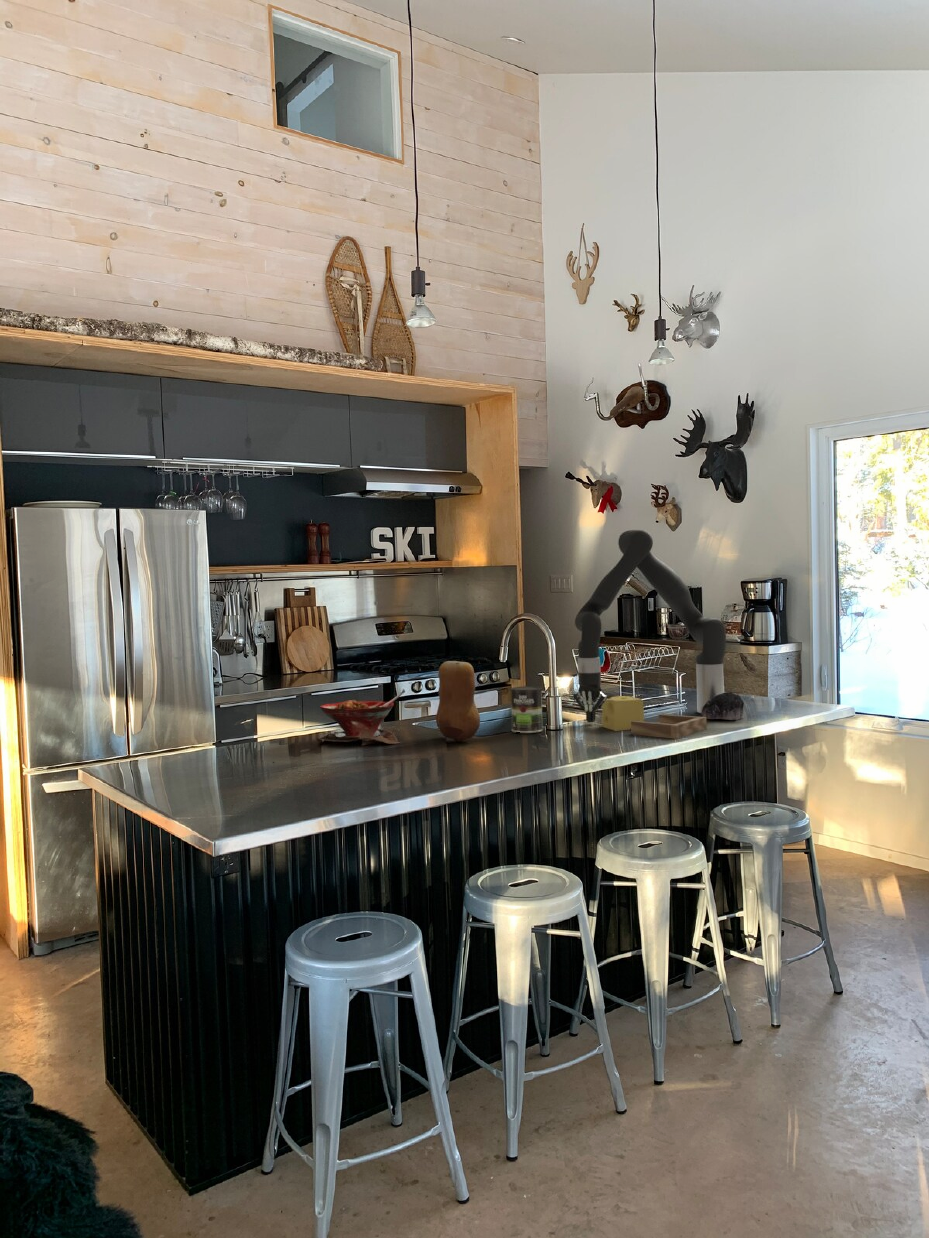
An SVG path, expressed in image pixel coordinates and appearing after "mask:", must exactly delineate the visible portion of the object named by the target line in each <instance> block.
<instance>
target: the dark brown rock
mask: <svg viewBox="0 0 929 1238" xmlns="http://www.w3.org/2000/svg"><path fill="white" fill-rule="evenodd" d="M744 707H745V703H744V700H743V698H742V697H741V695H740V694H738V693H735V692H733V691H726V692H724V693H722V694H719V695H716V696H715V697H714V698H711V699H710V700H709V701H708V702H706V704H705V705H704V706H703V708H702V713H701V717H706V720H708V719H709V720H729V721H735V720H736V721H737V720H740V719H742V718H743V715H744V710H745V709H744Z"/></svg>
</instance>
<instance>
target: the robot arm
mask: <svg viewBox="0 0 929 1238" xmlns="http://www.w3.org/2000/svg"><path fill="white" fill-rule="evenodd" d="M617 541H618V542H617V543H618V548H619V550H620V552H621V553H622V556H621V558H620V559H619V560H618V562H617V563H616V565H614V567H613V568H612V569H610V571H608V573H606V575H605V576H604V577H603V578H602V580H600V582H599V583H598V585H597V586H596V588H595V590H594V591H593V593H592V595H591V596H590V598H589V600H587V601H586V602H585V604H584V605H583V606H582V607H581V608H580V610H579V611H578V612H577V614H576V616H575V619H574V626H575V627H576V629H577V630H578V631H580V632H581V637H580V638H581V640H580V641H579V642H578V644H577V645H578V647H577V648H578V649H577V653H578V657H577V658H578V660H577V675H578V676H577V677H578V678H577V679H578V685H579V687H578V691H577V692H576V693H573V694H572V697H573V698H574V700H575V702H576V703H577V705H578V706H579V707H580V709H581V710H584V711H585V717H586V721H587V723H595V721H596V711H598V710H601V709H602V704H604V702H605V700H606V699H609V698H608V695H607V694H604V693H603V692H602V688H601V684H602V678H601V677H602V675H601V674H602V672H601V659H600V640H601V634H602V620H601V615H602V614H603V612H605V611H608V609H610V607H611V606H612V604H613V602H614V600H616V598H617V595H618V594H619V592H620V590H621V589H622V587H623V586H624V585H625V583H626V582H627V580H628V579H629V578H630V576H631V575H632V574H633V572H634V571H636V569H638V570H639V571H640V572H641V573H642V575H643V576H644V577H645V579H646V580H647V581H648V583H649V584H650V585H651V587H653V588H654V590H655V592H657V593H658V595H659V596H660V597H661V599H662V600H663V601H664V602H665V603H666V604H667V605H668V607H669V608H670V610H672V612H674V613H675V615H676V616H677V617H678V618H679V619H680V621H681V623H682V624H683V625H684V627H685V628H686V629H687V631H688V633H689V634H690V637H692V638H693V640H694V641H696V642H697V643H699V644H701V645H702V651H701V652H700V653H699V654H697V655H696V657H695V668H696V670H695V671H696V709H697V713H699V714H702V708H703V706H704V705H705V704H706V702H708V701H709V700H710V699H711V698H714V697H715V696H716V695H719V694H722V693H725V684H724V683H725V682H724V680H725V679H724V676H725V675H724V658H725V656H726V652H727V651H726V648H727V647H726V646H727V645H726V643H727V641H726V640H727V632H726V626H725V624H724V622H723V621H722V620H721V619H719V618H715V617H706V616H705V615H703V614H702V612H700V610H699V609H698V608H697V607H696V606H695V604H694V602H693V599H692V595H691V592H690V590H689V587H688V585H687V584H686V583H685V581H684V580H683V579H682V578H681V576H679V574H678V573H677V572H676V571H675V570H673V568H671V567H670V566H668V564H666V563H664V562H663V561H662V560H660V559H658V558H657V557H656V556H655V555H654V554H653V552H652V548H653V546H654V545H653V544H654V541H653V537H652V535H651V534H650V533H649V532H648V531H646V530H643V529H629V530H626V531H623V532H622V533H621V534H620V535H619V538H618V540H617Z"/></svg>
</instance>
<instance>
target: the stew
mask: <svg viewBox="0 0 929 1238" xmlns="http://www.w3.org/2000/svg"><path fill="white" fill-rule="evenodd" d="M404 693H406V691H405V688H403V689H402V691H400V692H399V693H398V694H397V695H396V696H395V697H393V699H391V700H389V701H379V700H378V701H377V700H376V701H375V700H373V701H372V700H371V701H360V700H359V701H358V700H356V699H351V700H350V699H348V700H346V701H342V702H341V701H340V702H336V703H325V704H322V705H320V706H319V708H320V710H321V711H322V712H323V713H324V714H325V715H326V716H327V717H329V718H330V719H332V720H333V721H335V722H336V724H338V725H339V727H340V728H341V731H333V730H332V731H330V730H328V731H327V734H326V735H324V736H323V737H318V738H316V740H317V743H316V745H317V747H319V746H320V745H321V744H323V743H325V742H333V743H337V742H338V743H339V742H345V743H346V742H356V741H359V740H361V746H367V745H373V744H377V743H378V744H379V743H386V744H389V745H390V744H401V743H402V741H398V738H397V737H396V733H394V732H392V731H391V730H387V729H380V728H379V727H380V725H381V724H382V722H384V721H383V720H384V719H385V718H387V716H388V715H389V713H390V711H391V710H392V709H393V707H394V705H395V701H396V700H397V699H399V698H400V697H401V696H402V695H403V694H404ZM377 731H378V733H379V734H378V735H376V736H374V735H375V734H376V732H377ZM329 732H331V733H329ZM385 732H386V733H385ZM382 733H385V734H384V735H382V736H381V734H382ZM339 734H344V735H343V736H337V735H339Z"/></svg>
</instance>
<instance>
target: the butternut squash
mask: <svg viewBox="0 0 929 1238" xmlns="http://www.w3.org/2000/svg"><path fill="white" fill-rule="evenodd" d="M437 675H438V680H439V682H438V684H439V686H438V691H437V693H438V697H439V700H438V701H439V704H438V706H437V707H438V708H437V711H436V716H435V723H436V726H437V728H438V729H439V732H440V734H442V736H444V737H445V738H447V739H452V740H454V741H455V740H456V742H465V741H466V740H468V739H471V738H473V737H474V736H475V735H476V734H477V731H478V730H479V729H480V725H481V724H480V723H481V717H480V713H479V710H478V708H477V706H476V703H475V691H476V679H475V671H474V667H473V666H472V664H471V663H470V662H466V661H457V660H452V661H451V660H447V661H444V662H443V663H442V664H441V665H440V667H439V669H438V673H437ZM464 740H465V741H464Z"/></svg>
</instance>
